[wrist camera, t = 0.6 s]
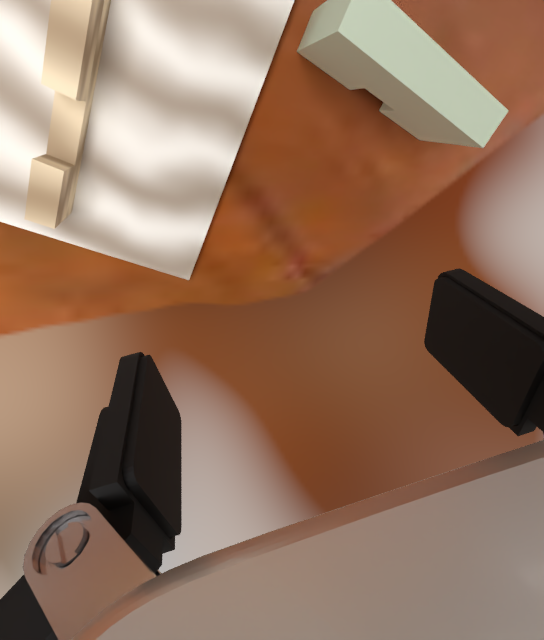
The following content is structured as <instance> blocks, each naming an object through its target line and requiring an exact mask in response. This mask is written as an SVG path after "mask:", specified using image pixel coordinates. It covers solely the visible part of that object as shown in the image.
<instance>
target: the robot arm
mask: <svg viewBox="0 0 544 640" xmlns="http://www.w3.org/2000/svg"><path fill="white" fill-rule="evenodd" d="M424 342H425V347H426V349H427V350H428V351H429V353H430V354H432V355H433V357H434V358H436V360H437V361H438V362H439V363H440V364H442V366H443V367H445V368H446V369H447V371H448V372H450V374H452V375H453V376H454V377H455V378H456V379H457V380H458V381H459V382H460V383H461V384H462V385H463V386H464V387H465V388H466V389H467V390H468V391H469V392H470V393H471V394H472V395H473V396H474V397H475V398H476V399H477V400H478V401H479V402H480V403H481V404H482V405H483V406H484V407H485V408H486V409H487V410H488V411H489V412H490V413H491V414H492V415H493V416H494V417H495V418H496V419H497V420H498V421H499V422H500V423H501V424H502V425H504V426H505V427H509V428H510V429H511V430H512V431H513V432H514V433H515V434H516V435H517V436H520V435H523V434H526V433H529V432H532V431H534V430H535V428H536V427H538V428H539V429H541V430H542V431H543V437H544V317H542V316H541V315H539V314H538V313H536V312H534V311H533V310H531V309H529V308H527V307H526V306H524V305H522V304H521V303H519V302H517V301H516V300H514V299H512V298H510V297H508V296H507V295H505V294H504V293H502V292H500V291H498V290H497V289H495V288H493V287H492V286H490V285H488V284H486V283H485V282H483V281H481V280H480V279H478V278H476V277H474V276H472V275H471V274H469V273H467V272H466V271H464V270H462V269H455V270H451V271H447V272H443V273H441V274H440V275H439V276H438V279H436V280H435V283H434V288H433V294H432V299H431V305H430V311H429V317H428V323H427V329H426V334H425V341H424ZM180 533H181V417H180V413H179V411H178V409H177V407H176V405H175V403H174V401H173V399H172V397H171V395H170V393H169V391H168V389H167V387H166V385H165V383H164V381H163V379H162V377H161V375H160V373H159V371H158V369H157V367H156V365H155V363H154V361H153V359H152V357H151V356H150V355H146V356H144V354H143V353H142V352H139V353H135V354H131V355H127V356H124V357H121V359H120V362H119V366H118V370H117V374H116V378H115V382H114V387H113V391H112V395H111V400H110V403H109V407H105V408H103V409H102V410H101V413H100V415H99V419H98V423H97V427H96V431H95V434H94V438H93V442H92V446H91V450H90V454H89V457H88V461H87V465H86V469H85V472H84V476H83V480H82V484H81V488H80V491H79V495H78V499H77V503H76V504H72V505H69V506H67V507H65V508H63V509H61V510H59V511H58V512H57V513H55V514H54V515H53V516H52V517H50V518H49V519H48V520H47V521H46V522H45V523H44V524H43V525H42V526H41V527H40V528H39V529H38V531H37V532H36V534H35V535H34V537H33V538H32V540H31V541H30V543H29V546H28V548H27V550H26V553H25V555H24V563H23V570H24V575H23V576H22V577H21V578H20V579H19V580H18V581H17V583H16V584H15V585H14V586H13V587H12V588H11V589H10V590H9V591H8V592H7V593H6V594H5V595H4V596H3V597H2V598H1V599H0V640H544V440H543V441H539V442H537V443H534V444H530V445H527V446H525V447H521V448H519V449H515V450H512V451H509V452H506V453H503V454H500V455H497V456H494V457H491V458H488V459H485V460H482V461H479V462H476V463H473V464H470V465H467V466H464V467H461V468H458V469H455V470H452V471H449V472H446V473H443V474H440V475H437V476H434V477H431V478H428V479H425V480H422V481H419V482H416V483H413V484H410V485H407V486H404V487H401V488H398V489H395V490H392V491H389V492H386V493H383V494H380V495H377V496H374V497H371V498H368V499H365V500H362V501H359V502H356V503H353V504H350V505H347V506H345V507H341V508H339V509H336V510H333V511H330V512H327V513H324V514H321V515H318V516H315V517H312V518H309V519H306V520H304V521H300V522H297V523H295V524H292V525H289V526H286V527H283V528H280V529H277V530H274V531H271V532H268V533H265V534H262V535H260V536H257V537H254V538H252V539H249V540H246V541H243V542H240V543H238V544H235V545H232V546H229V547H227V548H224V549H221V550H218V551H216V552H213V553H210V554H207V555H204V556H202V557H199V558H197V559H194V560H192V561H190V562H188V563H185V564H182V565H180V566H178V567H175V568H173V569H171V570H168V571H166V572H164V573H161V572H160V571H159V570H158V569H159V567H160V566H161V565H162V554H163V553H166V552H168V551H172V550H174V549H175V536H176V535H179V534H180Z"/></svg>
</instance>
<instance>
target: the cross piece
mask: <svg viewBox="0 0 544 640" xmlns="http://www.w3.org/2000/svg"><path fill="white" fill-rule="evenodd" d="M297 52H298V53H299V54H301V55H302V56H303V57H305V58H306V59H308V60H309V61H310V62H312V63H313V64H314V65H316V66H317V67H319V68H320V69H321V70H323V71H324V72H326V73H327V74H328V75H330V76H331V77H333V78H334V79H335V80H337V81H338V82H339V83H341V84H342V85H344V86H345V87H346V88H348V89H349V90H354V89H362V88H365V89H366V90H368V91H369V92H370V93H372V94H373V95H374V96H376V97H377V98H378V99H380V100H381V101H382V102H383V104H382V106H381V107H380V109H379V111H380V112H381V113H382V114H384V115H385V116H387V117H388V118H389V119H391V120H392V121H394V122H395V123H396V124H398V125H399V126H401V127H402V128H403V129H405V130H406V131H407V132H409V133H410V134H412V135H413V136H414V137H416V138H417V139H419V140H422V141H430V142H438V143H446V144H455V145H463V146H471V147H479V148H484V146H485V145H486V143H487V142H488V140H489V139H490V137H491V136H492V134H493V133H494V131H495V130H496V128H497V127H498V126H499V124H500V123H501V121H502V120H503V118H504V117H505V115H506V114H507V112H508V110H507V109H506V108H505V107H504V106H503V105H502V104H501V103H500V102H499V101H498V100H497V99H496V98H494V97H493V96H492V95H491V94H490V93H489V92H488V91H487V90H486V89H485V88H484V87H483V86H482V85H481V84H480V83H478V82H477V81H476V80H475V79H474V78H473V77H472V76H471V75H470V74H469V73H468V72H467V71H466V70H465V69H464V68H463V67H461V66H460V65H459V64H458V63H457V62H456V61H455V60H454V59H453V58H452V57H451V56H450V55H449V54H448V53H447V52H445V51H444V50H443V49H442V48H441V47H440V46H439V45H438V44H437V43H436V42H435V41H434V40H433V39H432V38H431V37H430V36H428V35H427V34H426V33H425V32H424V31H423V30H422V29H421V28H420V27H419V26H418V25H417V24H416V23H415V22H414V21H412V20H411V19H410V18H409V17H408V16H407V15H406V14H405V13H404V12H403V11H402V10H401V9H400V8H399V7H398V6H397V5H395V4H394V3H393V2H392V1H391V0H327V1H326V2H324V3H323V4H322V5H320V6H319V7H318V8H316V9H315V10H314V11H313V12H312V15H311V17H310V20H309V22H308V25H307V27H306V30H305V32H304V35H303V37H302V40H301V42H300V45H299V47H298V50H297Z"/></svg>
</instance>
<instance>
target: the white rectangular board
mask: <svg viewBox="0 0 544 640" xmlns="http://www.w3.org/2000/svg"><path fill="white" fill-rule="evenodd" d="M293 3H294V0H0V222H3V223H6V224H10V225H13V226H16V227H19V228H23V229H26V230H29V231H32V232H35V233H39V234H42V235H45V236H48V237H51V238H55V239H58V240H61V241H64V242H67V243H71V244H74V245H77V246H80V247H84V248H87V249H90V250H93V251H96V252H100V253H103V254H106V255H109V256H112V257H116V258H119V259H122V260H125V261H129V262H132V263H135V264H138V265H141V266H145V267H148V268H151V269H154V270H157V271H161V272H164V273H167V274H170V275H174V276H177V277H180V278H183V279H186V280H189V279H190V276H191V274H192V271H193V268H194V266H195V263H196V260H197V258H198V255H199V252H200V250H201V247H202V244H203V242H204V239H205V236H206V234H207V231H208V228H209V226H210V223H211V221H212V218H213V215H214V213H215V210H216V207H217V205H218V202H219V199H220V197H221V194H222V191H223V189H224V186H225V183H226V181H227V178H228V175H229V173H230V170H231V167H232V165H233V162H234V160H235V157H236V154H237V152H238V149H239V146H240V144H241V141H242V138H243V136H244V133H245V130H246V128H247V125H248V122H249V120H250V117H251V114H252V112H253V109H254V106H255V104H256V101H257V98H258V96H259V93H260V91H261V88H262V85H263V83H264V80H265V77H266V75H267V72H268V69H269V67H270V64H271V61H272V59H273V56H274V53H275V51H276V48H277V45H278V43H279V40H280V37H281V35H282V32H283V30H284V27H285V24H286V22H287V19H288V16H289V14H290V11H291V8H292V6H293Z"/></svg>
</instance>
